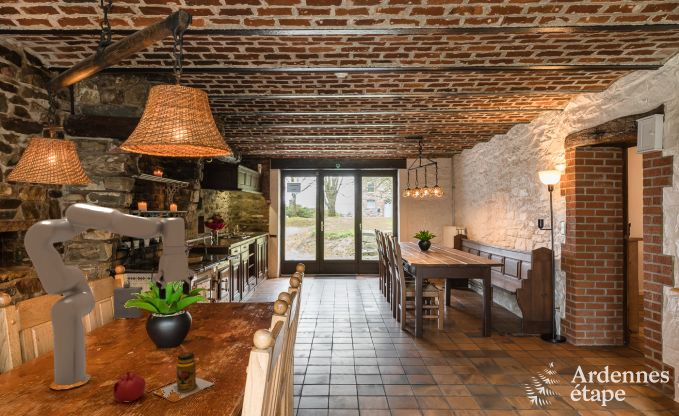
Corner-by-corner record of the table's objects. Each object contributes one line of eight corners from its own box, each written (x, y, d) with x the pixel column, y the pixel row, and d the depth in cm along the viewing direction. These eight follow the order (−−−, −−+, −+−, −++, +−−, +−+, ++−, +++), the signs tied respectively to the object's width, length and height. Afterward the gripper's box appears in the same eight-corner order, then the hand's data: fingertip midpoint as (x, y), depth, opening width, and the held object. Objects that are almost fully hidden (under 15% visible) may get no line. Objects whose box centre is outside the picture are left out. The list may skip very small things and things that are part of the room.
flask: (111, 320, 238) (111, 284, 238) (116, 317, 244) (115, 283, 244) (138, 319, 239) (138, 284, 239) (142, 316, 245) (142, 282, 244)
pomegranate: (150, 391, 144) (150, 364, 144) (137, 405, 134) (137, 376, 134) (121, 392, 144) (121, 365, 144) (106, 406, 134) (106, 377, 134)
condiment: (178, 395, 139) (177, 359, 139) (172, 386, 146) (172, 352, 146) (200, 390, 143) (199, 355, 143) (194, 381, 150) (193, 348, 150)
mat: (152, 394, 142) (152, 392, 142) (192, 377, 155) (192, 376, 155) (174, 403, 135) (174, 401, 135) (214, 385, 148) (214, 383, 148)
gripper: (187, 248, 165) (188, 291, 165) (146, 252, 150) (146, 300, 150) (200, 249, 160) (200, 293, 160) (158, 253, 146) (158, 302, 146)
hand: (174, 296), depth 155 cm, fingers open, 9 cm apart
